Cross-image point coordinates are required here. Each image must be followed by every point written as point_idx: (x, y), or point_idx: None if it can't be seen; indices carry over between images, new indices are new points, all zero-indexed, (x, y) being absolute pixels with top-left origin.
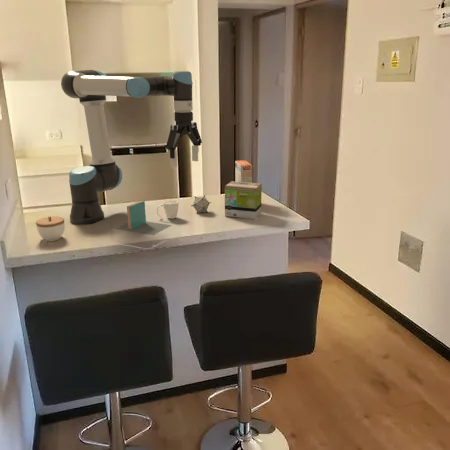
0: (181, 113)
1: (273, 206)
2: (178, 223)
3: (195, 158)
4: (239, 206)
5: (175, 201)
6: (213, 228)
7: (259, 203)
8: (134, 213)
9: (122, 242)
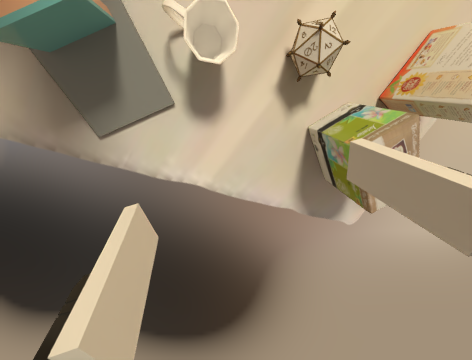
0: None
1: None
2: (201, 92)
3: (361, 175)
4: (330, 163)
5: (235, 25)
6: (237, 172)
7: None
8: (32, 35)
9: (4, 123)
